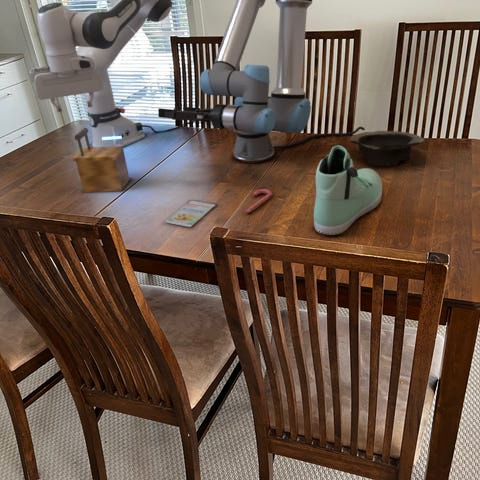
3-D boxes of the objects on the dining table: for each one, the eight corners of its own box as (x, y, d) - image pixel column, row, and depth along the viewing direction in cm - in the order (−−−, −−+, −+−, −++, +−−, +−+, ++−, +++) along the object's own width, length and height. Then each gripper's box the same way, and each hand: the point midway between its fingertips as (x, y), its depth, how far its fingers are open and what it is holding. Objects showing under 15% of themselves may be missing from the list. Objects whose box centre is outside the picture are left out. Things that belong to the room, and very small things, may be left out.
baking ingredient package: (164, 221, 138) (191, 199, 150) (164, 222, 139) (191, 201, 150) (190, 226, 135) (215, 203, 146) (190, 227, 135) (215, 205, 147)
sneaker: (389, 187, 148) (396, 123, 138) (356, 242, 123) (361, 168, 112) (346, 181, 154) (350, 119, 144) (306, 232, 129) (307, 161, 118)
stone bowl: (382, 177, 154) (383, 149, 150) (334, 159, 175) (334, 134, 170) (439, 158, 163) (441, 131, 159) (387, 143, 183) (387, 119, 179)
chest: (83, 192, 162) (75, 161, 156) (93, 180, 170) (85, 151, 164) (121, 190, 160) (115, 160, 155) (129, 179, 168) (123, 149, 163)
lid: (72, 161, 156) (66, 136, 152) (83, 151, 164) (77, 126, 160) (115, 160, 155) (109, 134, 150) (123, 149, 163) (118, 125, 158)
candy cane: (232, 210, 143) (232, 206, 142) (259, 190, 153) (259, 186, 152) (249, 215, 140) (248, 210, 139) (276, 194, 150) (275, 190, 149)
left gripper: (27, 70, 139) (40, 117, 147) (98, 61, 144) (108, 106, 152) (28, 66, 145) (41, 111, 152) (97, 57, 149) (106, 101, 157)
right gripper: (205, 132, 140) (147, 126, 150) (245, 126, 161) (193, 120, 171) (205, 106, 138) (147, 101, 147) (246, 103, 159) (193, 98, 168)
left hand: (75, 109), depth 152 cm, fingers open, 8 cm apart
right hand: (171, 111), depth 159 cm, fingers open, 13 cm apart
